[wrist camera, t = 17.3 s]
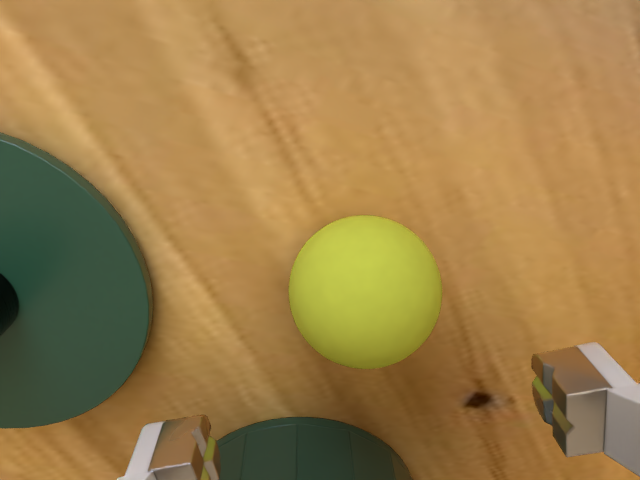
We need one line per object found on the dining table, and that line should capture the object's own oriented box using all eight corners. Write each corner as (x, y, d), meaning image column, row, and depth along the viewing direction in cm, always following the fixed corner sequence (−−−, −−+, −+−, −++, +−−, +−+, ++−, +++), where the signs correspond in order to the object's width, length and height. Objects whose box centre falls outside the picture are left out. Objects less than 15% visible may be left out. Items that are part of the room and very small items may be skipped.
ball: (415, 182, 19) (454, 240, 14) (429, 302, 21) (467, 387, 16) (276, 208, 19) (268, 274, 14) (304, 324, 21) (305, 415, 16)
